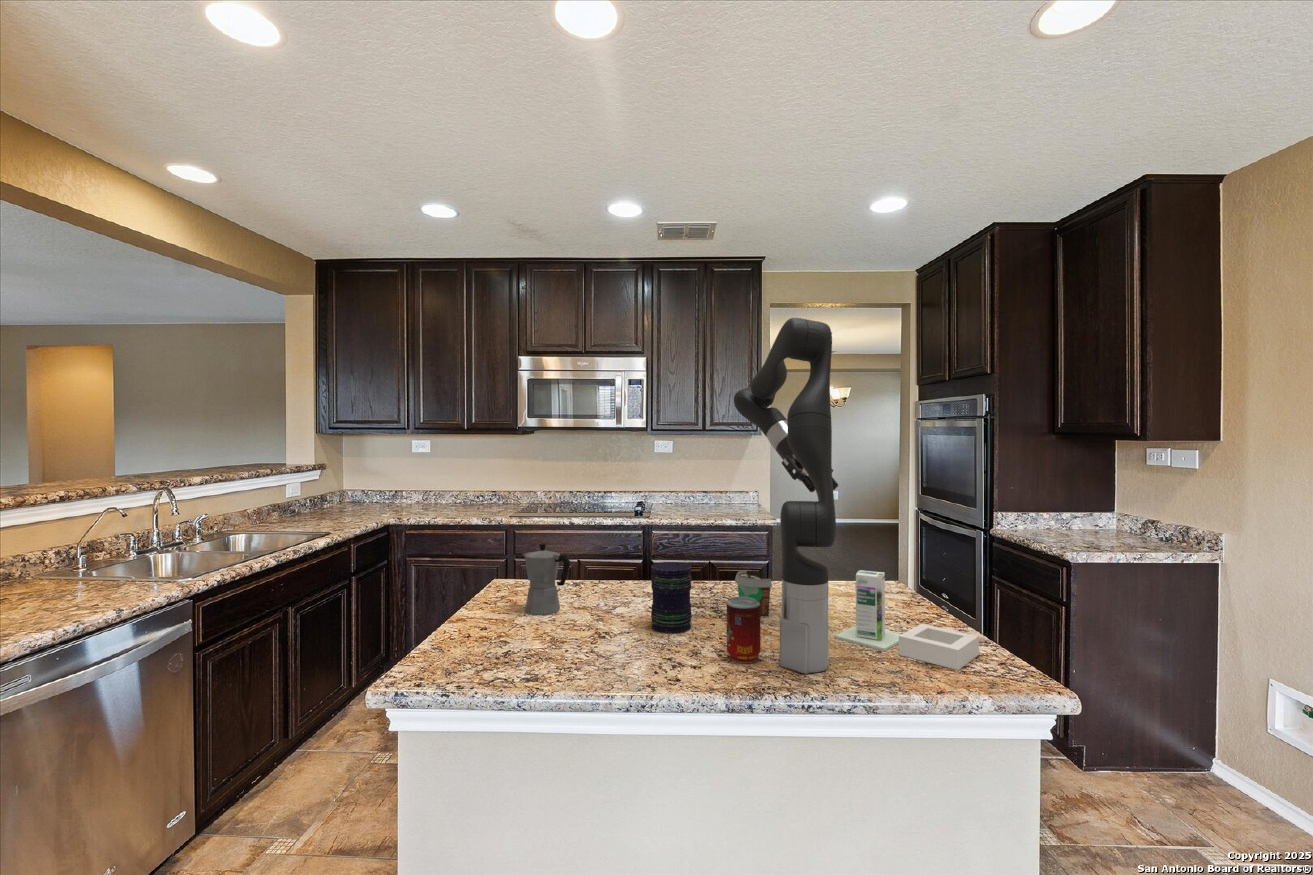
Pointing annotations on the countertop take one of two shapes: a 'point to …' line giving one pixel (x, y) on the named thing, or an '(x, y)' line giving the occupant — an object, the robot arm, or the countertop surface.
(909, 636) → the socket collar
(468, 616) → the countertop surface
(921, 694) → the countertop surface
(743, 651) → the soda can
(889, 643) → the green mat
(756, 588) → the food container
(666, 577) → the storage jar
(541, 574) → the coffeepot
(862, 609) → the syrup box
